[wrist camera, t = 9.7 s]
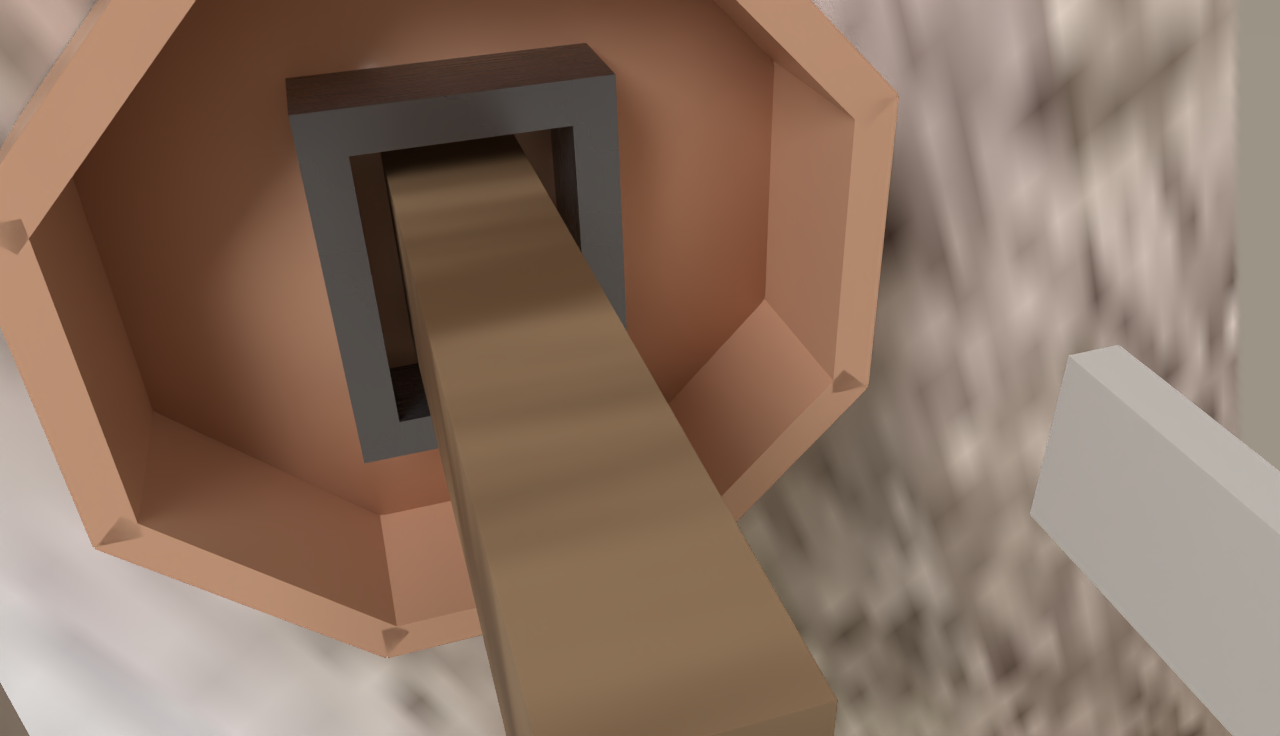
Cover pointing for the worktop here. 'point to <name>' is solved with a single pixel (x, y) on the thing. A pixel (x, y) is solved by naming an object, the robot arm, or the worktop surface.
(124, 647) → the worktop surface
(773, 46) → the orange octagonal tray
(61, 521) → the worktop surface
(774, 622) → the wooden bar
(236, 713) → the worktop surface
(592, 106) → the grey rectangular sleeve
